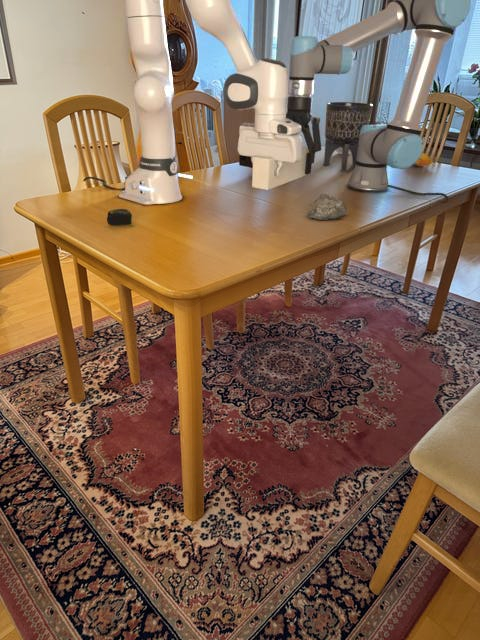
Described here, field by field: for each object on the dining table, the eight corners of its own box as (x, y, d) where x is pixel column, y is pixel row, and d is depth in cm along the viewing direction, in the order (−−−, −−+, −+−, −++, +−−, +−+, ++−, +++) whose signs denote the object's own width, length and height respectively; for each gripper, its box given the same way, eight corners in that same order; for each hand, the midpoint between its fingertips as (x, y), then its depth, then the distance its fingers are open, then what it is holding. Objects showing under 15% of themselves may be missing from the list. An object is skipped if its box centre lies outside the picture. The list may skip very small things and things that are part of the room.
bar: (292, 172, 154) (294, 145, 150) (307, 174, 152) (309, 147, 147) (252, 187, 136) (253, 156, 132) (267, 190, 133) (269, 159, 129)
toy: (408, 159, 210) (402, 152, 223) (410, 173, 213) (404, 165, 225) (433, 152, 207) (426, 145, 219) (435, 165, 210) (428, 158, 222)
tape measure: (107, 228, 130) (105, 215, 128) (109, 220, 136) (108, 208, 134) (131, 227, 131) (130, 214, 129) (133, 220, 137) (131, 207, 135)
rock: (331, 208, 151) (334, 189, 147) (352, 215, 145) (356, 195, 142) (304, 216, 143) (306, 195, 140) (325, 223, 137) (328, 202, 134)
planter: (313, 167, 208) (319, 103, 195) (331, 160, 222) (338, 101, 209) (353, 173, 199) (362, 107, 185) (369, 166, 213) (379, 104, 199)
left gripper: (233, 122, 132) (233, 171, 139) (296, 129, 122) (292, 181, 129) (245, 120, 136) (244, 167, 143) (306, 126, 126) (302, 177, 133)
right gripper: (263, 94, 141) (260, 169, 152) (328, 98, 130) (319, 178, 141) (275, 93, 146) (271, 165, 157) (338, 97, 136) (329, 174, 147)
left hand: (267, 174), depth 136 cm, fingers closed on bar, 5 cm apart
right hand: (294, 171), depth 149 cm, fingers open, 9 cm apart
